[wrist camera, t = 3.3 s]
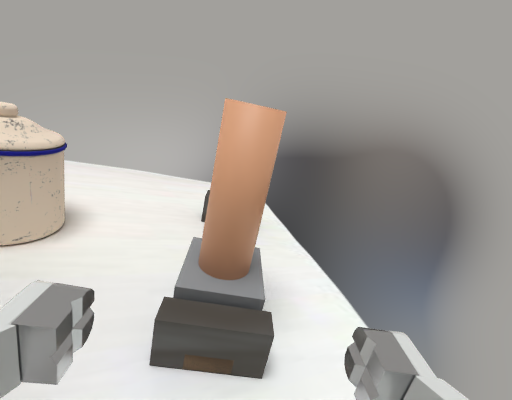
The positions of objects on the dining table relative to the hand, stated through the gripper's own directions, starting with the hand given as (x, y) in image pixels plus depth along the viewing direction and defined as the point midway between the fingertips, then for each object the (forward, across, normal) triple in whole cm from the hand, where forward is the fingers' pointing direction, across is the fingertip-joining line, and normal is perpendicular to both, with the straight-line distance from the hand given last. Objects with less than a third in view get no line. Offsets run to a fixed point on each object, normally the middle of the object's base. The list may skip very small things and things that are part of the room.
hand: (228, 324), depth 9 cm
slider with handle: (+12, 0, +10) cm, 15 cm away
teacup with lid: (+19, +22, +10) cm, 31 cm away
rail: (+18, 0, +10) cm, 21 cm away
